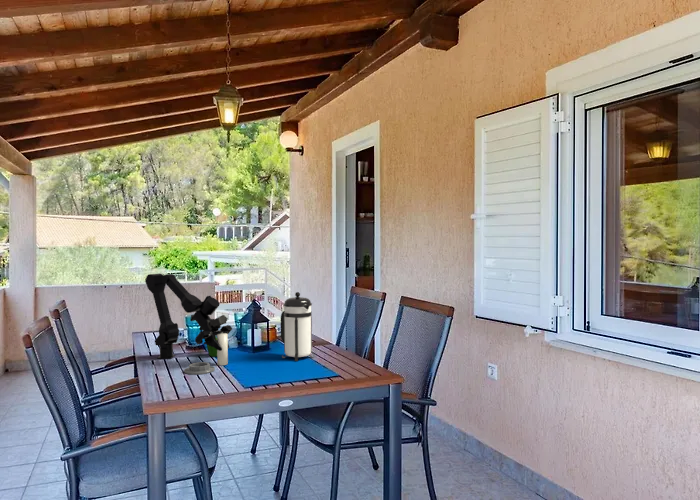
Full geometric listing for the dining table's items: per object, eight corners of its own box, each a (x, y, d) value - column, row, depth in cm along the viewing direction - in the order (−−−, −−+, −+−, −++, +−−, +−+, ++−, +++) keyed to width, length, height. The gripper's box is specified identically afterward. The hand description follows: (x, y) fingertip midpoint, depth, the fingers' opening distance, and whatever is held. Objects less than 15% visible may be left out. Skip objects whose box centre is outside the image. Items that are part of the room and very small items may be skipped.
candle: (218, 362, 232) (218, 333, 232) (228, 362, 232) (228, 333, 232) (216, 365, 228) (215, 335, 227) (226, 365, 228) (226, 335, 227)
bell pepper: (221, 353, 253) (221, 332, 252) (227, 356, 246) (227, 334, 245) (204, 355, 248) (203, 334, 248) (209, 358, 241) (209, 336, 241)
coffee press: (317, 353, 249) (316, 290, 249) (311, 361, 233) (310, 293, 233) (281, 353, 251) (280, 290, 250) (273, 361, 235) (272, 293, 234)
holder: (189, 367, 225) (189, 361, 225) (217, 367, 225) (217, 361, 225) (180, 374, 213) (180, 368, 213) (209, 374, 213) (209, 368, 213)
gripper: (200, 312, 223) (221, 341, 218) (228, 307, 239) (248, 333, 235) (186, 329, 226) (206, 358, 222) (215, 323, 243) (234, 349, 238)
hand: (225, 349), depth 229 cm, fingers closed on candle, 4 cm apart
